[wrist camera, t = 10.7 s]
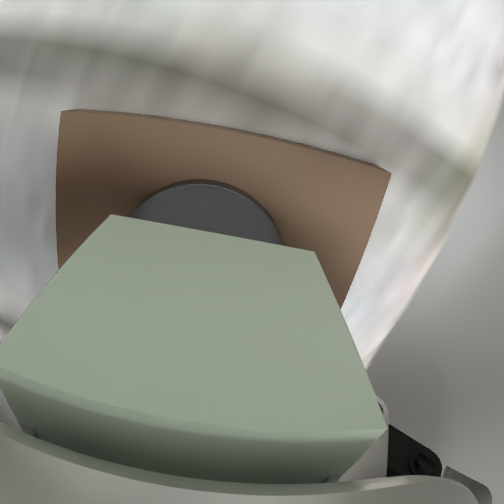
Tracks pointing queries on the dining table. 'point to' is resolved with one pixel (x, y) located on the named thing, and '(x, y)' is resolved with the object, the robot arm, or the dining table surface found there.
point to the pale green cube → (192, 359)
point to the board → (214, 186)
